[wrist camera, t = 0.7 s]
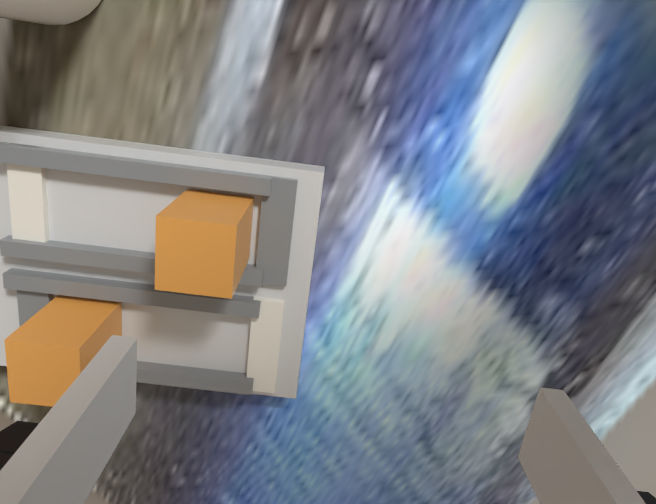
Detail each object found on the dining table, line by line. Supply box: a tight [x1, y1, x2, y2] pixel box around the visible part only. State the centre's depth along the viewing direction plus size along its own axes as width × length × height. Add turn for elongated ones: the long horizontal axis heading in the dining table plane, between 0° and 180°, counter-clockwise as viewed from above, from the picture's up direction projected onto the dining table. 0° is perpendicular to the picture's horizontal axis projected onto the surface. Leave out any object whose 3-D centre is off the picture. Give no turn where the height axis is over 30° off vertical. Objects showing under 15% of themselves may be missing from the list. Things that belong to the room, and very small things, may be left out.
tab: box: [4, 295, 122, 407], centre depth 32 cm, size 4×4×6 cm
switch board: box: [0, 125, 325, 399], centre depth 34 cm, size 22×16×3 cm
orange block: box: [155, 189, 254, 299], centre depth 29 cm, size 4×4×6 cm
